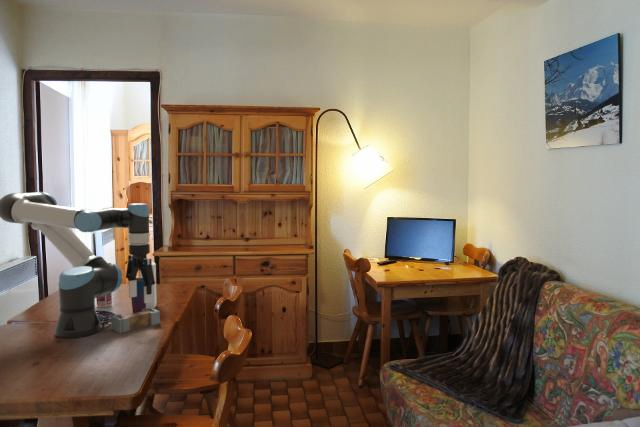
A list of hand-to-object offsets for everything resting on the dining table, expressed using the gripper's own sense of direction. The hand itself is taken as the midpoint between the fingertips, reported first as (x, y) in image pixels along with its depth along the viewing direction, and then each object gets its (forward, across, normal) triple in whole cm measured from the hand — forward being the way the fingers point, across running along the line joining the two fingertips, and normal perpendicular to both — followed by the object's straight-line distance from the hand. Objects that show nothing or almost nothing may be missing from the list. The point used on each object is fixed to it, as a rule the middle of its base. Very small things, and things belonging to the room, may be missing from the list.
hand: (140, 299), depth 193 cm
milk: (+10, +22, -15) cm, 28 cm away
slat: (+10, 0, +2) cm, 10 cm away
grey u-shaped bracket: (+10, 0, +8) cm, 13 cm away
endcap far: (+10, 0, -4) cm, 11 cm away
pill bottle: (+10, +37, -2) cm, 38 cm away
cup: (+10, +13, -6) cm, 18 cm away
